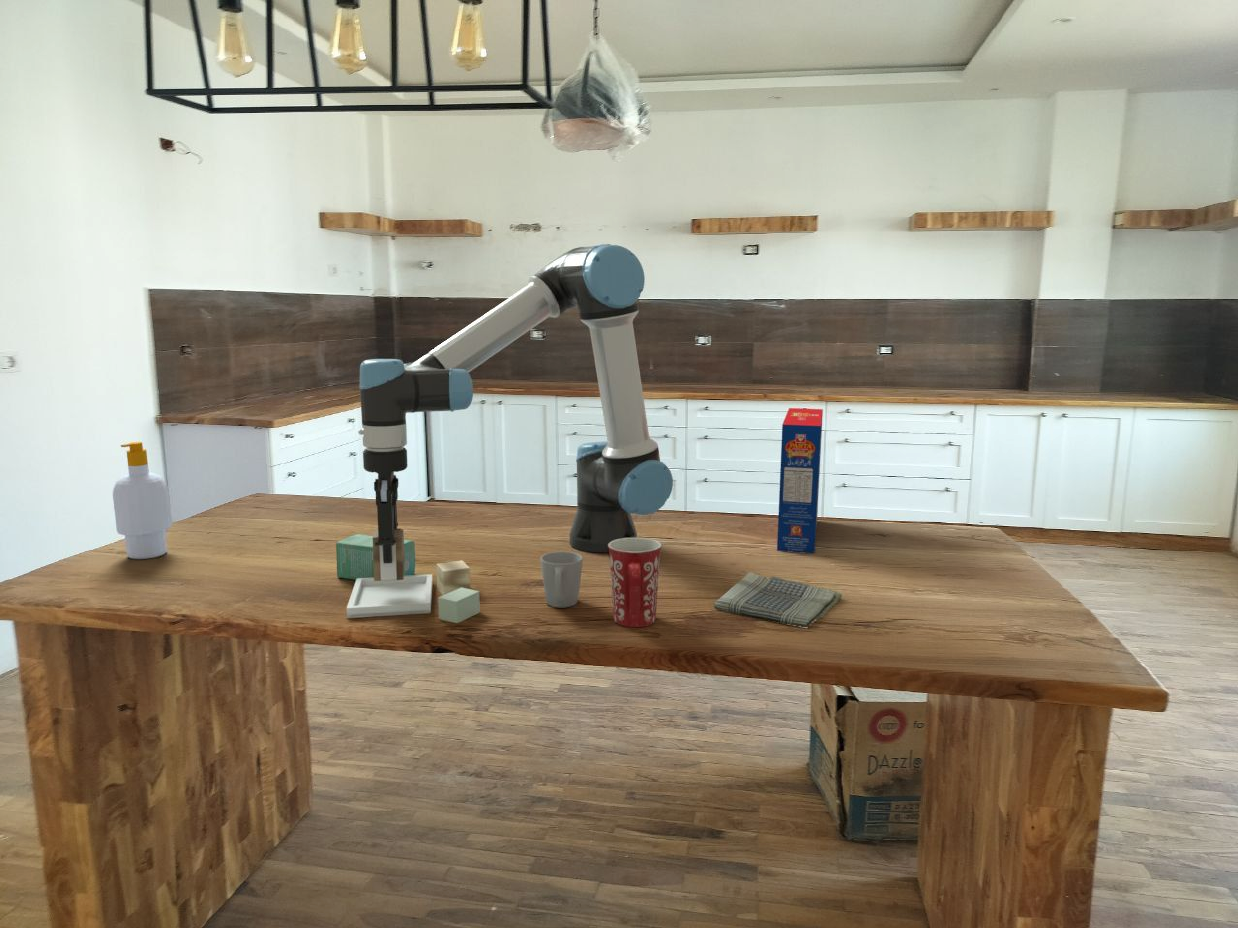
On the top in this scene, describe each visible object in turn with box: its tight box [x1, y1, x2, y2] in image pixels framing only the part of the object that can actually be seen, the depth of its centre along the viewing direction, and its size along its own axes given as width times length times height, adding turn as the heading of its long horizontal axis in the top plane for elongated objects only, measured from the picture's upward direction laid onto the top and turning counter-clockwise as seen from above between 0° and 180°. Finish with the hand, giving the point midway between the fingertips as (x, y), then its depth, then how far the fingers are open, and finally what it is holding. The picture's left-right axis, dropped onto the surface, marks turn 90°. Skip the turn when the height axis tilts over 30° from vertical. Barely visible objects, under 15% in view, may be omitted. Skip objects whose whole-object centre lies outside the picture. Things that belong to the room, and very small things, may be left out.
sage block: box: [437, 587, 481, 624], centre depth 148 cm, size 6×4×4 cm, turn 149°
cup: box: [540, 551, 584, 609], centre depth 153 cm, size 8×10×8 cm
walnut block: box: [372, 528, 405, 581], centre depth 154 cm, size 5×5×8 cm
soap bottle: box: [112, 441, 173, 560], centre depth 179 cm, size 10×10×24 cm
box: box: [335, 533, 416, 581], centre depth 168 cm, size 7×14×8 cm, turn 73°
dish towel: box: [713, 572, 843, 627], centre depth 155 cm, size 19×18×3 cm
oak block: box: [435, 559, 471, 596], centre depth 160 cm, size 5×5×5 cm
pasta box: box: [776, 407, 824, 554], centre depth 196 cm, size 28×8×28 cm, turn 166°
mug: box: [608, 537, 663, 628], centre depth 143 cm, size 13×9×14 cm
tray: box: [346, 573, 434, 619], centre depth 155 cm, size 14×16×2 cm
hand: (390, 573), depth 154 cm, fingers closed on walnut block, 5 cm apart
